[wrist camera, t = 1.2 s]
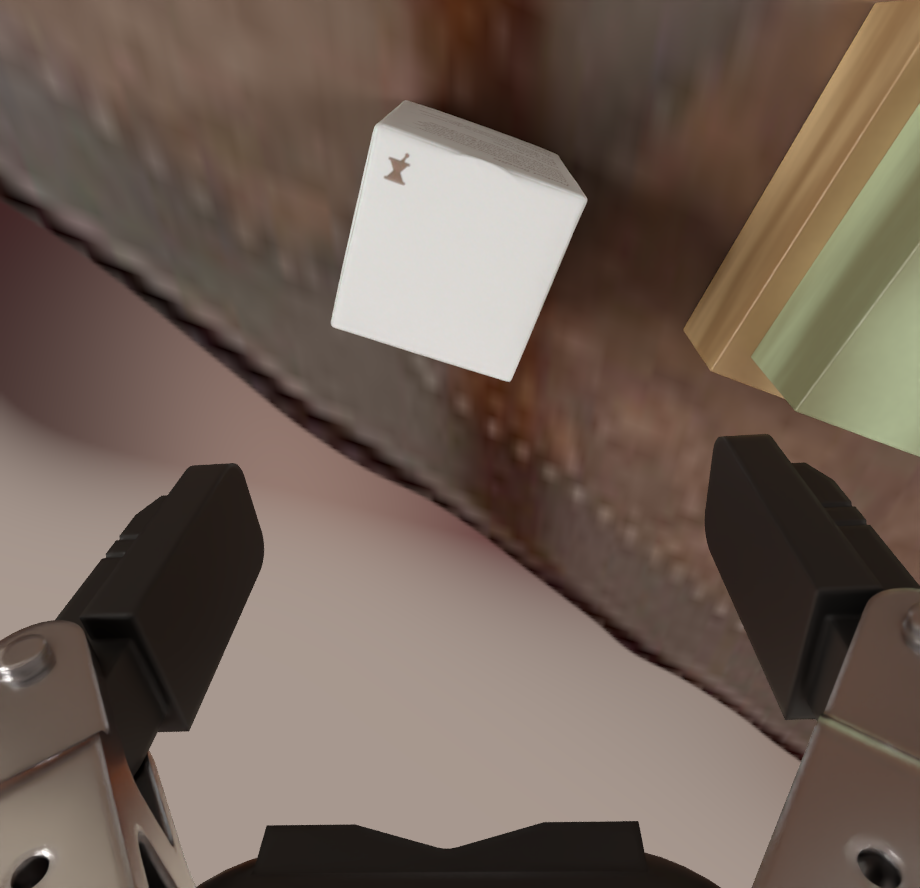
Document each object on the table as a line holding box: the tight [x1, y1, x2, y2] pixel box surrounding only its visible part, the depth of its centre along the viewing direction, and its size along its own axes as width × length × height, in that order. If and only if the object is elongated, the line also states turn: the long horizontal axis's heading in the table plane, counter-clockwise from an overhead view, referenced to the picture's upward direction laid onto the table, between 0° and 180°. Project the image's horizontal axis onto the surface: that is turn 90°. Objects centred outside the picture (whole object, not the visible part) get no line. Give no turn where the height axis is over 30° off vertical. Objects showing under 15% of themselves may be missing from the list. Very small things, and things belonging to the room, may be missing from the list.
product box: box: [331, 100, 587, 382], centre depth 22 cm, size 6×6×7 cm
